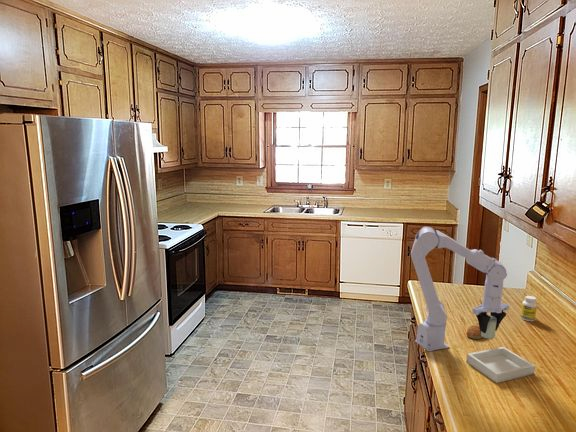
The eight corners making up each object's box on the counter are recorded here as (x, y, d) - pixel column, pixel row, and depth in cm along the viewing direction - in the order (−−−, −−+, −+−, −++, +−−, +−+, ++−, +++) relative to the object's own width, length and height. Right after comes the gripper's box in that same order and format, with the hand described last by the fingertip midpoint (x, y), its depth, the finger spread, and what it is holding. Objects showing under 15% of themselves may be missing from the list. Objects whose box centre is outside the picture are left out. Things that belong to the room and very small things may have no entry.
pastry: (478, 342, 157) (479, 333, 156) (461, 336, 162) (462, 327, 161) (489, 334, 163) (490, 325, 162) (472, 328, 168) (473, 320, 167)
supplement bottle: (521, 320, 176) (524, 298, 174) (519, 315, 181) (522, 294, 179) (535, 322, 174) (539, 300, 172) (533, 317, 179) (536, 296, 177)
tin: (487, 339, 146) (489, 321, 145) (477, 333, 150) (479, 315, 149) (497, 337, 147) (500, 319, 146) (487, 332, 152) (489, 314, 150)
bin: (496, 382, 131) (497, 374, 130) (466, 361, 143) (467, 353, 142) (534, 374, 136) (535, 365, 135) (502, 354, 148) (503, 346, 147)
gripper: (485, 301, 140) (480, 338, 142) (518, 296, 144) (513, 332, 147) (469, 293, 146) (465, 329, 149) (501, 289, 151) (497, 324, 154)
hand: (488, 330), depth 148 cm, fingers closed on tin, 4 cm apart
